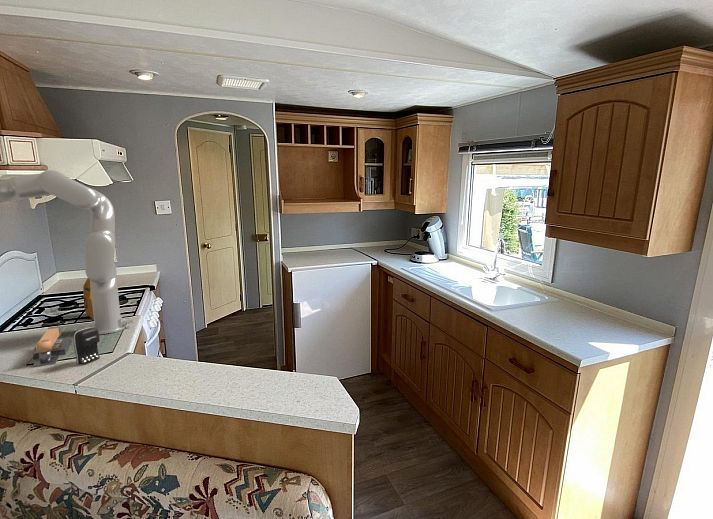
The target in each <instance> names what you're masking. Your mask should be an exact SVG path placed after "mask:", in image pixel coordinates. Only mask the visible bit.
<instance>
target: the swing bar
mask: <svg viewBox="0 0 713 519" xmlns="http://www.w3.org/2000/svg"><path fill="white" fill-rule="evenodd" d="M61 335H62V332H61V326H60V325H59V326H58V325H57V326H51V327H48V328H47V330H46V332H45V333H44V334H43V335H42V336H41V338H40V340H38V341H36V343H35V345H36V349H37V352H38V353H41V352H47V351H50V350H52V346H53V345H54V343H55V341H56V340H57V339H59V338H60V336H61Z"/></svg>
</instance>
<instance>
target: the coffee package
mask: <svg viewBox="0 0 713 519" xmlns="http://www.w3.org/2000/svg"><path fill="white" fill-rule="evenodd" d="M82 286H83V287H82V289H83V290H82V292H83V294H82V296H83V306H84V309H85V315H87V316H88V317H89V318H91V319H92V320H94V315H93V306H92V297H91V288H90V279H89V278H88V277H87V278H86V280H85V282H84V284H83V285H82Z"/></svg>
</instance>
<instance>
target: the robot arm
mask: <svg viewBox="0 0 713 519" xmlns="http://www.w3.org/2000/svg"><path fill="white" fill-rule="evenodd" d="M47 196H54V197H56V198H58V199H60V200H62V201H65V202H67V203H69V204H71V205H73V206H75V207H77V208H80V209H82V210H88V211H89V214H90V221H89V222H90V227H89V228H90V229H89V230H90V232H89V235H88V237H87V238H86V241H85V261H84V262H85V265H84V266H85V267H84V268H85V269H84V270H85V276H86V277H87V279H88V278H89V279H90V288H91V297H92V306H93V315H94V319H93V321H94V322H93V323H94V327H93V328H96V329H97V330H98V332H99V335H105V334H106V335H107V334H108V333H109V334H114V333H117V332H121V331H123V330H125V329H126V324H133V323H134V319H133V318H123V316H122V315H121V309H120V307H121V306H120V299H119V291H118V290H119V288H118V278H117V266H116V264H115V248H116V243H117V242H116V223H115V222H116V218H115V215H116V214H115V208H114V206H113V204H112V202H111V201H110V199H109V198H107V196H105V194H103V193H101V192H99V190H96V189H94V188H91V187H89V186H86V185H85V184H83V183H80V182H78V181H76V180H74V179H73V178H70V177H68V176H66V175H65V174H64V173H62V172H60V171H57V170H52V169H48V170H44V171H42V172H40V173H34V174H27V175H26V174H25V175H16V176H11V177H9V178H8V179H6V180H3V181H0V203H6V202H11V201H20V200H27V199H33V198H38V197H39V198H40V197H47Z"/></svg>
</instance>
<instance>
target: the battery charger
mask: <svg viewBox="0 0 713 519" xmlns="http://www.w3.org/2000/svg"><path fill="white" fill-rule="evenodd" d="M72 337H73V338H72V341H73V347H74V353H75V362H76V364H77V365H83V366H84V365H87V364H90V363H92V362H95V361H97V360H99V359H100V358H101V357H100V353H99V348H98V347H99V346H98V343H99V342H101V340H100V339H101V338H100V334H99V332H98V330H97V329H96V328H94V327H85V328H82V329H79V330H77V331H74V333H73V336H72Z"/></svg>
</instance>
